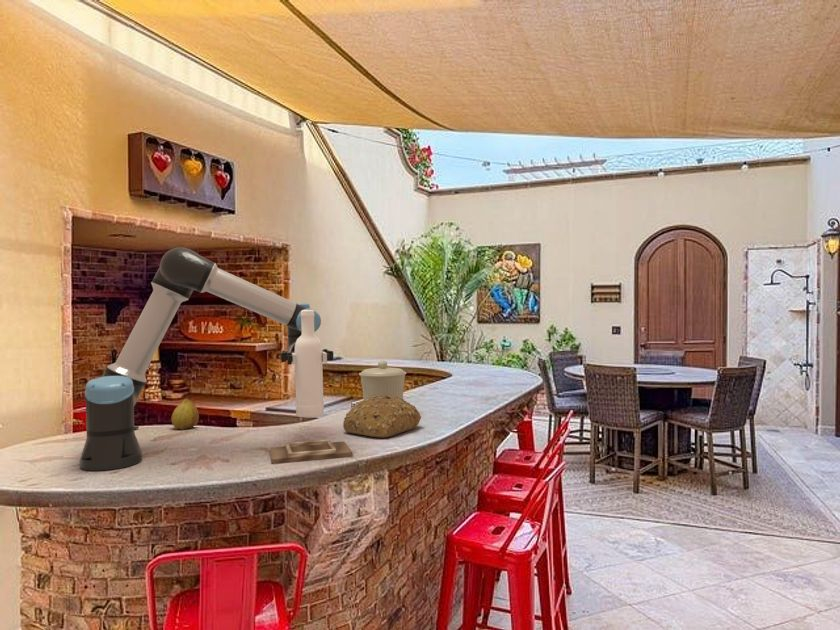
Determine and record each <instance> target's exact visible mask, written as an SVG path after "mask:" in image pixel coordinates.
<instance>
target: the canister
mask: <svg viewBox="0 0 840 630" xmlns="http://www.w3.org/2000/svg"><path fill="white" fill-rule="evenodd" d="M377 366H378V367H370V368H366V369H362V371H361V372H359V373H358V374H359V377H360V381H361V389H362V397H363V400H366V399H367V398H369V397H373V396H376V395H389V396H391V395H392V396H394V397H395V396H397V397H398V398H402V399H404V390H405V389H404V388H405V379H406V378H405V376H406V374H407V372H406V371H405V370H404V369H402V368H399V367H387V366H388V363H387V361H386V360H380V361H378V363H377Z"/></svg>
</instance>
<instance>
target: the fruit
mask: <svg viewBox="0 0 840 630" xmlns="http://www.w3.org/2000/svg"><path fill="white" fill-rule="evenodd" d="M193 396H194V393H192V394H190V396H189V398H184V399H183V400H181V402H180V403H179V404H178V405H177V406H176V407H175V409H174V410H173V411H172V414H171V418H170V419H171V424H172V426H173V427H174V428H175V429H177V430H188V429H191V428H193V427H194V426H197V424H198V423H199V420H200V415H199V411H198V408H197V406H196V404H195V402H194V401H193V400H191V398H192V397H193Z"/></svg>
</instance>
